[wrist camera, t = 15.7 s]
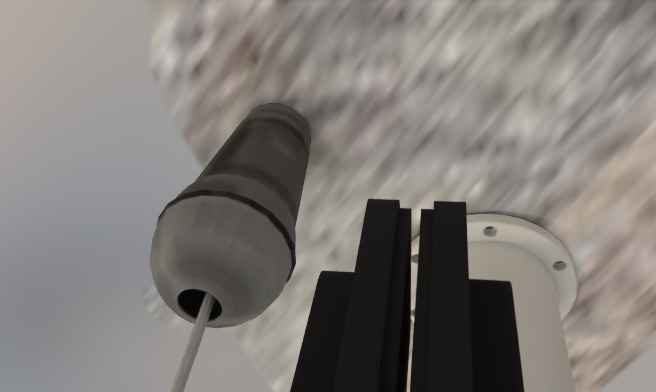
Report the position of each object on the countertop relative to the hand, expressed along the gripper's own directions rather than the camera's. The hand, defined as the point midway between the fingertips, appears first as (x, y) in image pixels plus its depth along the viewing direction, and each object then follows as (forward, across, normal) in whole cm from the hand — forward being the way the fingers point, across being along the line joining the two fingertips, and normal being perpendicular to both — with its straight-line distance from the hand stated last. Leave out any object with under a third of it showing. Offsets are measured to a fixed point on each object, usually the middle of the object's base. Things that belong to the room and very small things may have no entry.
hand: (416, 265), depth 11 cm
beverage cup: (+25, +10, +12) cm, 30 cm away
